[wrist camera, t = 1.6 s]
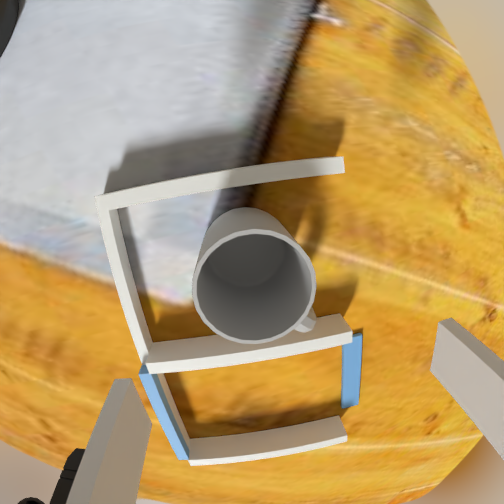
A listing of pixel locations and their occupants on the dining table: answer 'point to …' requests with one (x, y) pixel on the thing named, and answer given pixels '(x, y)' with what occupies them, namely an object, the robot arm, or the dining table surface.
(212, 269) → the cup
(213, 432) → the dining table surface
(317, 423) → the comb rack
